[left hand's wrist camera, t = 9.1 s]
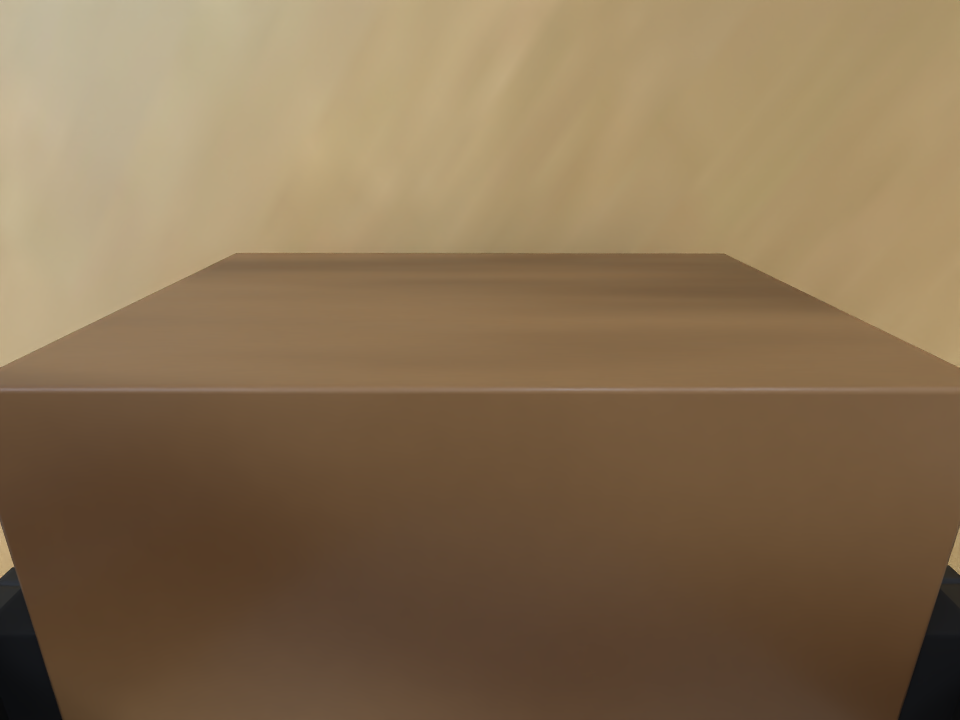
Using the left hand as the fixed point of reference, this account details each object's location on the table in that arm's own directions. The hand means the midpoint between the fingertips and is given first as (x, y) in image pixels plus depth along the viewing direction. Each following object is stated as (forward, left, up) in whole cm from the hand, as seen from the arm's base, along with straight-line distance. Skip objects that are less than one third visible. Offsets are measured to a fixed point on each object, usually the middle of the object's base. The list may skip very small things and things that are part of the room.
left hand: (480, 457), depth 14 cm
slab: (+20, +9, -1) cm, 21 cm away
